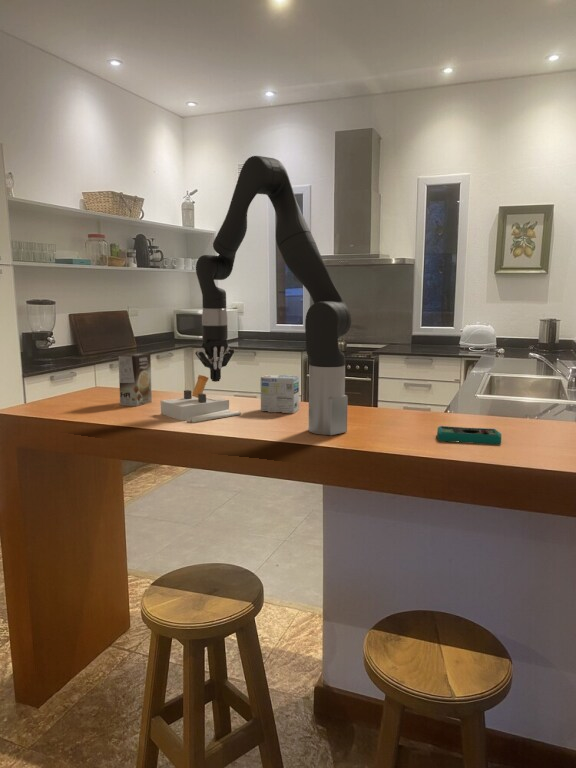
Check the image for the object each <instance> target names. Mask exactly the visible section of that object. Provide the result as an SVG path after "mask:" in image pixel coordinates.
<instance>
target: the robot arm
mask: <svg viewBox="0 0 576 768" xmlns="http://www.w3.org/2000/svg"><path fill="white" fill-rule="evenodd" d="M257 195H266V196H267V197H268V198H269V200H270V202H271V204H272V207H273V208H274V209H273V210H274V212H275V214H276V227H275V241H276V245H277V248H278V249H279V253H280V254H281V256H282V259H283V261H284V263H285V265H286V267H287V268H288V269H289V271H290V272H291V274H293V275H294V277H295V278H296V279H297V280H298V281H299V282H300V283H301V284H302V285H303V287H304V288H305V290H306V291H307V292H308V294H309V295H310V297H311V300H312V301H313V304H312V305H310V307H309V308H308V310H306V311H307V312H306V315H305V321H304V322H305V323H304V327H305V328H304V331H305V333H304V334H305V335H304V337H305V352H306V355H307V357H308V432H310V433H312V434H314V435H315V434H316V435H323V436H324V435H326V436H335V435H338V434H343V433H344V434H345V433H347V432H348V401H349V399H348V398H349V397H348V395H347V394H345V393H346V355H345V354H344V353H343V352H342V351H341V350H340V347H339V337H343V336H344V335H346V334H347V333H348V332H349V330H350V328H351V325H352V315H351V313H350V309H349V307H348V305H347V303H346V302H345V301H344V299H343V297H342V296H341V293H340V292H339V291H338V288H337V287H336V285H335V283H334V281H333V280H332V277H331V274H330V273H329V270H328V268H327V266H326V264H325V261H324V259H323V257H322V255H321V253H320V250H319V248H318V246H317V243H316V241H315V238H314V237H313V234H312V232H311V230H310V228H309V226H308V224H307V222H306V219H305V217H304V215H303V212H302V210H301V207H300V206H299V203H298V201H297V198H296V195H295V192H294V188H293V186H292V184H291V180H290V177H289V175H288V172H287V170H286V167H285V165H284V164H283V163H282V162H281V160H278V159H277V158H274V157H269V156H262V155H253V156H250V157H248V158H247V159H246V160H245V162H244V163H243V166H242V167H241V170H240V173H239V175H238V178H237V181H236V185H235V188H234V190H233V194H232V197H231V201H230V202H229V203H230V204H229V207H228V210H227V213H226V215H225V218H224V220H223V222H222V224H221V226H220V229H219V230H218V232H217V234H216V236H215V238H214V239H213V240H214V241H213V242H212V247H213V250H214V251H215V252H216V254H218V255H212V254H211V255H210V254H203V255H201V256H199V258H198V259H197V261H196V264H195V273H196V274H195V275H196V277H197V280H198V285H199V288H200V291H201V296H202V311H201V312H202V313H201V332H202V334H201V336H202V337H201V338H202V345H201V348H200V350H197V351H196V352H195V356H196V357H197V358H198V360H199V361H200V362H201V364H202V365H203V366H204V368H208V369H209V371H210V372H209V373H210V374H209V375H210V380H211V382H214V383H215V382H220V380H221V376H222V375H221V374H222V372H221V371H222V368H224V367H227V365H228V363H229V362H230V360H231V359H232V357H233V355H234V354H235V350H234V349H232V348H230V347H229V343H228V341H227V340H228V329H229V328H228V311H227V291H226V290H225V289H223V288H221V287H217V285H216V283H215V281H216V280H217V281H224V280H226V279H227V278H229V277H230V275H231V274H232V272H233V267H234V263H235V259H236V256H237V255H236V254H237V252H238V250H239V248H240V246H241V244H242V242H243V241H244V239H245V236H246V233H247V229H248V212H249V211H248V210H249V208H250V205H251V203H252V201H254V199H255V197H256V196H257Z"/></svg>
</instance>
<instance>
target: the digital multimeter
mask: <svg viewBox="0 0 576 768" xmlns="http://www.w3.org/2000/svg"><path fill="white" fill-rule="evenodd" d="M436 433H437V434H436V437H437V440H438V441H439V442H440V441H459V442H458V443H462V442H473V443H472V444H481V443H485V445H497V444H500V445H501V443H502V433H501V432H499V430H497V429H496V428H481V427H478V428H477V427H461V426H443V425H440V426H438V427H437V432H436Z"/></svg>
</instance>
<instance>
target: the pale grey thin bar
mask: <svg viewBox="0 0 576 768" xmlns="http://www.w3.org/2000/svg"><path fill="white" fill-rule="evenodd" d="M229 412H231V410H230V408H229V409H228V410H223V411H219V412H214V413H209V414H205V415H200V416H195V417H191V418H187V419H186V420H185V421H186V422H187V423H191V422H192V418H198V417H204V416H210V415H217V414H223V413H229ZM192 423H193V422H192Z"/></svg>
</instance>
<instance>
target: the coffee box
mask: <svg viewBox="0 0 576 768" xmlns="http://www.w3.org/2000/svg"><path fill="white" fill-rule="evenodd" d="M151 361H152V360H151V353H144V352H143V353H142V352H139V353H137V352H133V353H126V354H119V355H118V378H119V379H118V380H119V381H118V382H119V383H118V384H119V405H120V406H123V407H124V406H128V407H139V406H142V405H146V404H148V403H152V402H153V396H152V366H151V365H152V363H151Z"/></svg>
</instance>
